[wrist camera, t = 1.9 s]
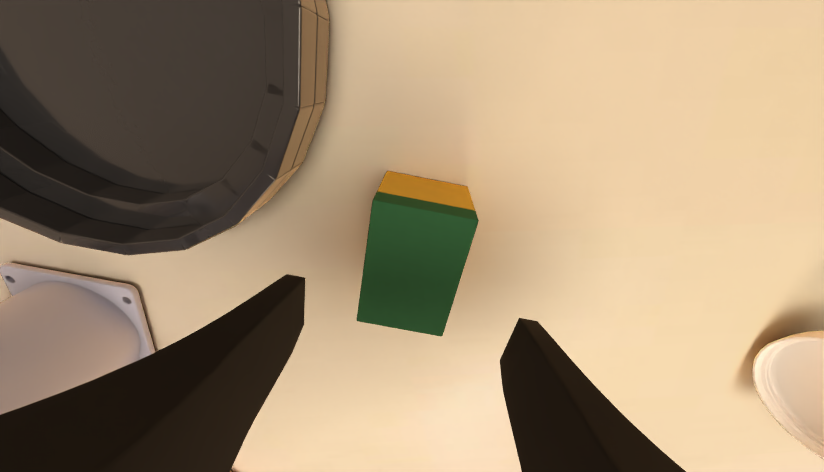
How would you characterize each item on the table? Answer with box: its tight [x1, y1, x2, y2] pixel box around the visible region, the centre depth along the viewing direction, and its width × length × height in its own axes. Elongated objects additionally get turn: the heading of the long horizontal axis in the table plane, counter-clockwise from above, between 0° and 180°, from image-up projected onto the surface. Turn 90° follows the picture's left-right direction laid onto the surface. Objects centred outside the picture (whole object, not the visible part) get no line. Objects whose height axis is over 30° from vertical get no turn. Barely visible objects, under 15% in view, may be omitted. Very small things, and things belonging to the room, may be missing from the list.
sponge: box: [357, 171, 478, 336], centre depth 15 cm, size 6×4×4 cm, turn 169°
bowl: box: [0, 0, 330, 255], centre depth 11 cm, size 18×18×4 cm
